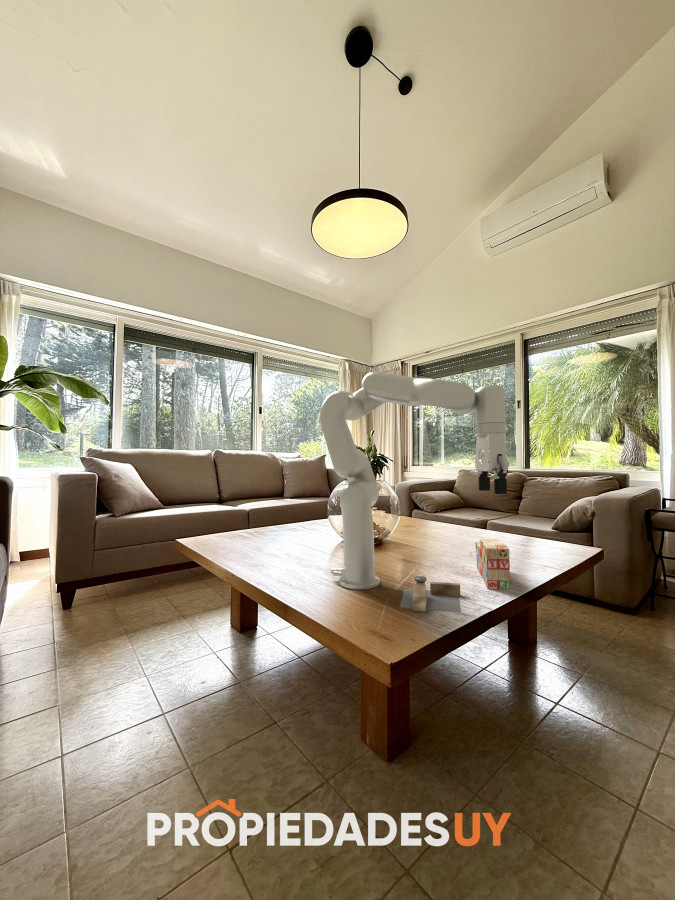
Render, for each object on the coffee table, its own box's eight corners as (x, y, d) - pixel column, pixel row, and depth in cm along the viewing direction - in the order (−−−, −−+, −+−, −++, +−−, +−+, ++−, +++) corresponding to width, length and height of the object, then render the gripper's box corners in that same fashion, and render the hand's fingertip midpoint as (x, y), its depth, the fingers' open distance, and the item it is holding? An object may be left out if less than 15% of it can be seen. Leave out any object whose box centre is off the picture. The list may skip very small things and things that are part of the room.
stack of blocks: (476, 568, 129) (475, 532, 129) (495, 569, 128) (494, 533, 128) (487, 590, 108) (486, 547, 108) (511, 591, 107) (509, 548, 107)
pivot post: (414, 597, 103) (414, 579, 103) (415, 593, 106) (414, 575, 106) (426, 598, 102) (426, 580, 102) (427, 594, 105) (426, 576, 105)
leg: (413, 610, 94) (412, 596, 94) (415, 597, 103) (414, 584, 103) (425, 611, 93) (424, 597, 93) (426, 598, 102) (426, 585, 102)
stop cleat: (430, 594, 105) (430, 583, 105) (430, 592, 107) (430, 581, 107) (460, 596, 103) (460, 585, 103) (460, 594, 105) (459, 583, 105)
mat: (399, 608, 96) (399, 607, 96) (404, 589, 110) (404, 588, 110) (460, 613, 93) (460, 612, 93) (458, 593, 106) (458, 592, 106)
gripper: (465, 432, 113) (466, 489, 113) (491, 428, 96) (493, 495, 95) (490, 432, 113) (491, 489, 113) (520, 427, 96) (522, 495, 96)
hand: (492, 492), depth 104 cm, fingers open, 9 cm apart
